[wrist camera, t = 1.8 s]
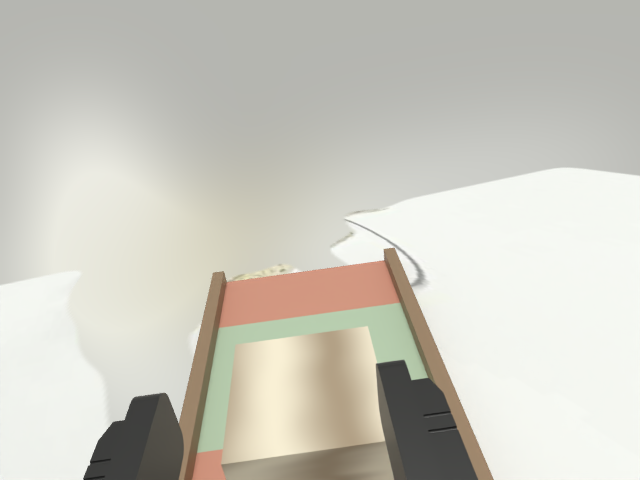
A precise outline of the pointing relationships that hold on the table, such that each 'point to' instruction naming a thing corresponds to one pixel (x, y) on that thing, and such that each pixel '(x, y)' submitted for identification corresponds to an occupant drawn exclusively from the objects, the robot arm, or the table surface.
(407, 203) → the table surface
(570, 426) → the table surface
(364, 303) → the tray
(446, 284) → the table surface
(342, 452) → the block
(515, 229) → the table surface
